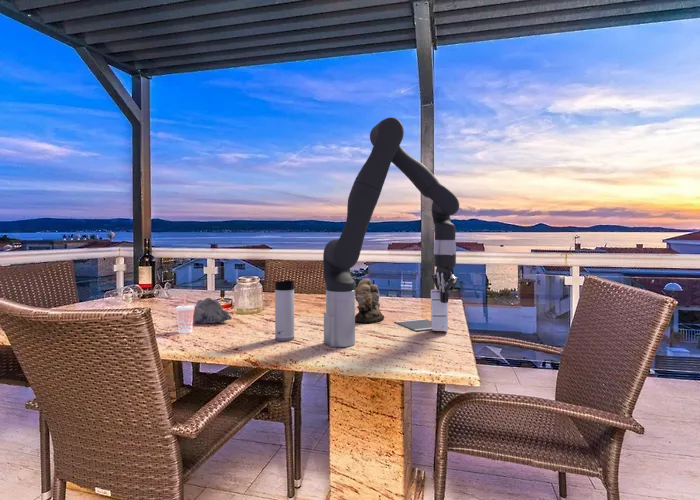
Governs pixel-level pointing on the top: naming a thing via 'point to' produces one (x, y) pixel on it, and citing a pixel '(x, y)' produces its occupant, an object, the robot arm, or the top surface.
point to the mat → (416, 324)
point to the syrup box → (438, 312)
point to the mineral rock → (209, 312)
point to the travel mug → (284, 310)
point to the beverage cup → (185, 317)
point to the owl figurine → (368, 303)
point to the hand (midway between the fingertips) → (444, 302)
